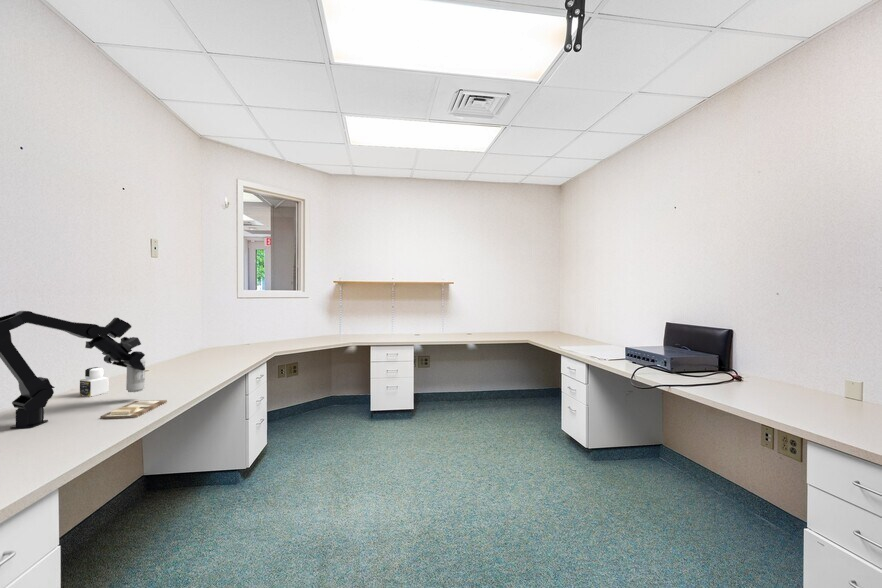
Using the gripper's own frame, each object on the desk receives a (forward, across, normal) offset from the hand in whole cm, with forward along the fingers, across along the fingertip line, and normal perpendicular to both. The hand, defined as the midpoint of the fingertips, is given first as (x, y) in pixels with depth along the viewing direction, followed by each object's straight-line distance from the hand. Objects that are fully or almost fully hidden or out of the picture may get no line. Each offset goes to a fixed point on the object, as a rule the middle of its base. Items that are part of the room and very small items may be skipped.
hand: (139, 369), depth 157 cm
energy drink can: (+6, 0, +8) cm, 9 cm away
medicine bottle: (+7, +27, +12) cm, 31 cm away
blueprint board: (+3, -15, +16) cm, 22 cm away
